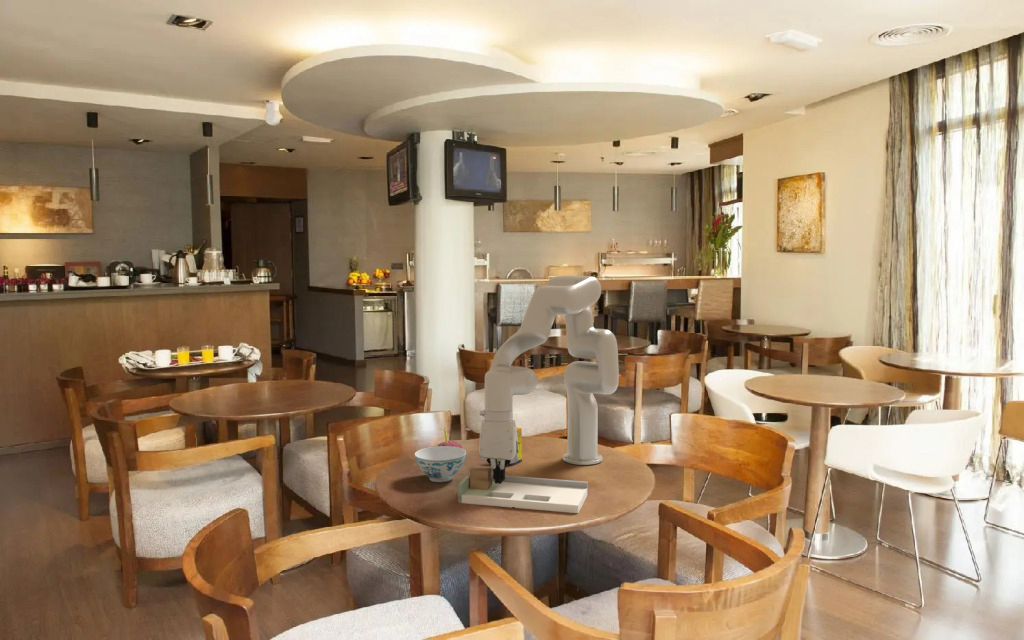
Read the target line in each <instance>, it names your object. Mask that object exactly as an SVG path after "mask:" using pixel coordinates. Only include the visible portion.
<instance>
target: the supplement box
mask: <svg viewBox="0 0 1024 640" xmlns="http://www.w3.org/2000/svg"><path fill="white" fill-rule="evenodd" d="M516 429H517V437H518V454H517V455H518V459H519V460H518V461H517V462H516V463H510V464H508V465H507V466H515V465H516V464H520V463H521V462H522V461H523V449H522V448H523V441H522V440H523V438H522V437H523V436H522V427H517V426H516ZM500 462H501V459H498V464H500ZM514 464H515V465H514Z"/></svg>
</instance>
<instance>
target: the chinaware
mask: <svg viewBox="0 0 1024 640" xmlns="http://www.w3.org/2000/svg"><path fill="white" fill-rule="evenodd" d="M466 456H467V451H466V449H463V448H462V449H461V448H458V447H451V446H438V445H436V446H431V447H425V448H421V449H418V450H417V451H415V453H414V457H415V458H414V459H415V462H416V464H417V467H418V468H419V469H420V471H421V472H422V473H423V474H424V475H426V476H427V477H428V478H429V479H428V480H430V481H431V482H434V483H446V482H449V481H451V480H453V476H455V475H456V474H457V473H458V472H459V471H460V470H461V469H462V467H463V466H464V463H465V460H466Z"/></svg>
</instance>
